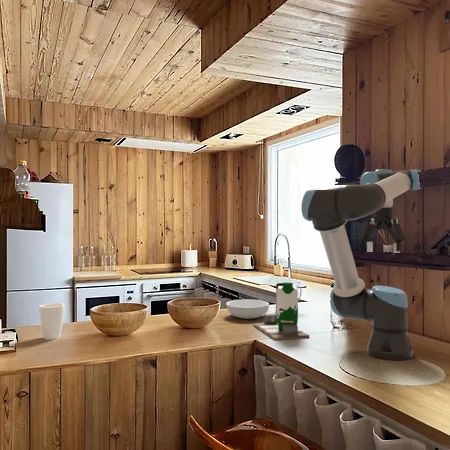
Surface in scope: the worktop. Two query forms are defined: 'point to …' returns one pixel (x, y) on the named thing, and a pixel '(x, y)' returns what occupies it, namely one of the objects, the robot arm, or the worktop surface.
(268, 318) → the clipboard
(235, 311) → the serving bowl
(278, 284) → the white pitcher
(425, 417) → the worktop surface
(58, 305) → the foam cup
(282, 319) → the soya milk
